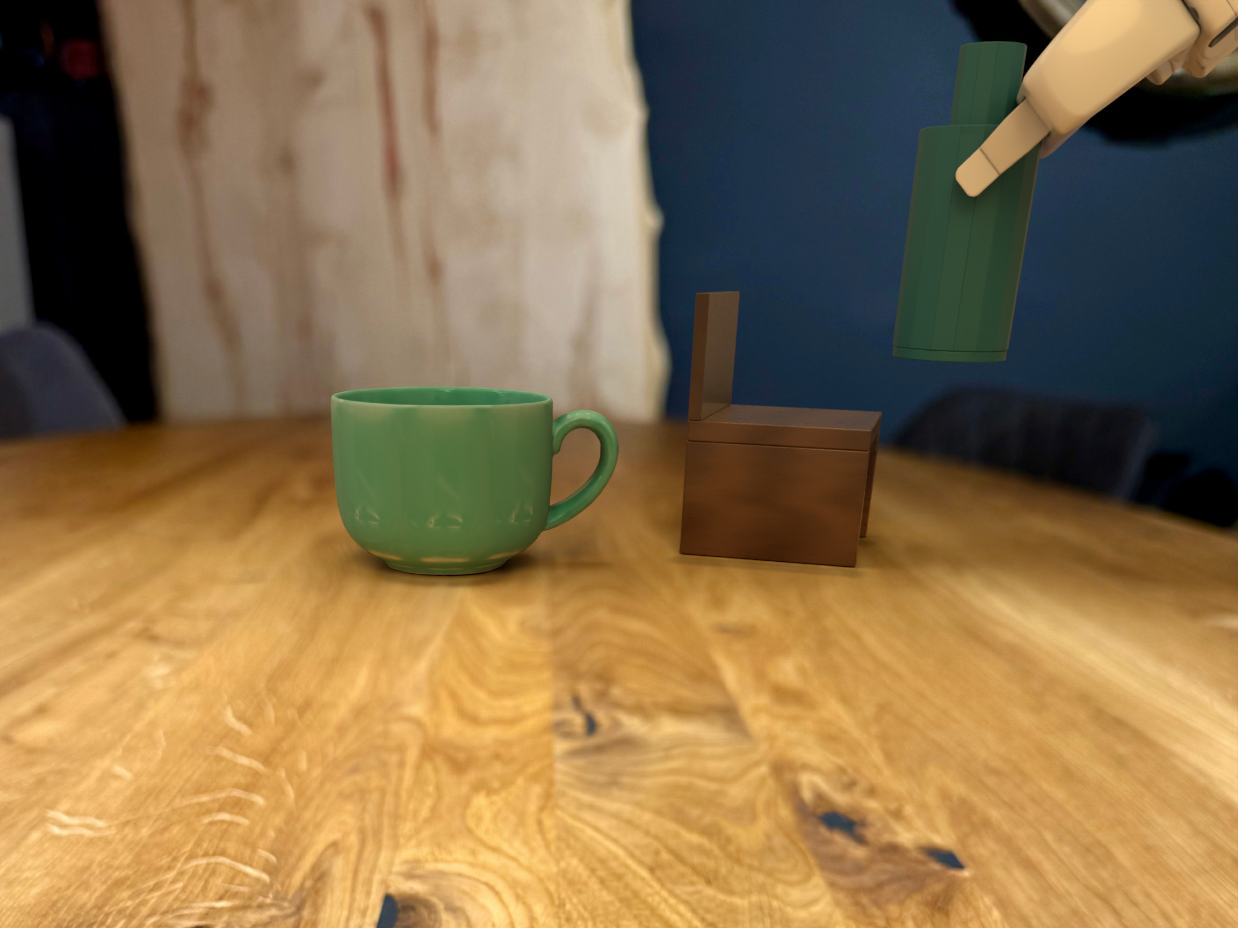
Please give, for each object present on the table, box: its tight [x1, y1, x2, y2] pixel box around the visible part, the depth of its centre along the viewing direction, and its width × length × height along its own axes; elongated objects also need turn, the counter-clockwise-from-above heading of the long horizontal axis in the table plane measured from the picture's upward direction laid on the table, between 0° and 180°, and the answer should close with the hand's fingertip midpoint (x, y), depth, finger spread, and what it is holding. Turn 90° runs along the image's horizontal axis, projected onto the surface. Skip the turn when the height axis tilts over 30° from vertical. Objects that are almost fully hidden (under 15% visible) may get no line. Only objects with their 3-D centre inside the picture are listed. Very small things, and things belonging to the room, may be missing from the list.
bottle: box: [891, 40, 1043, 364], centre depth 76 cm, size 7×7×16 cm
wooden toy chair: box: [679, 290, 883, 568], centre depth 84 cm, size 11×12×15 cm
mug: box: [330, 386, 620, 576], centre depth 76 cm, size 17×13×10 cm
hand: (961, 191), depth 76 cm, fingers closed on bottle, 7 cm apart
